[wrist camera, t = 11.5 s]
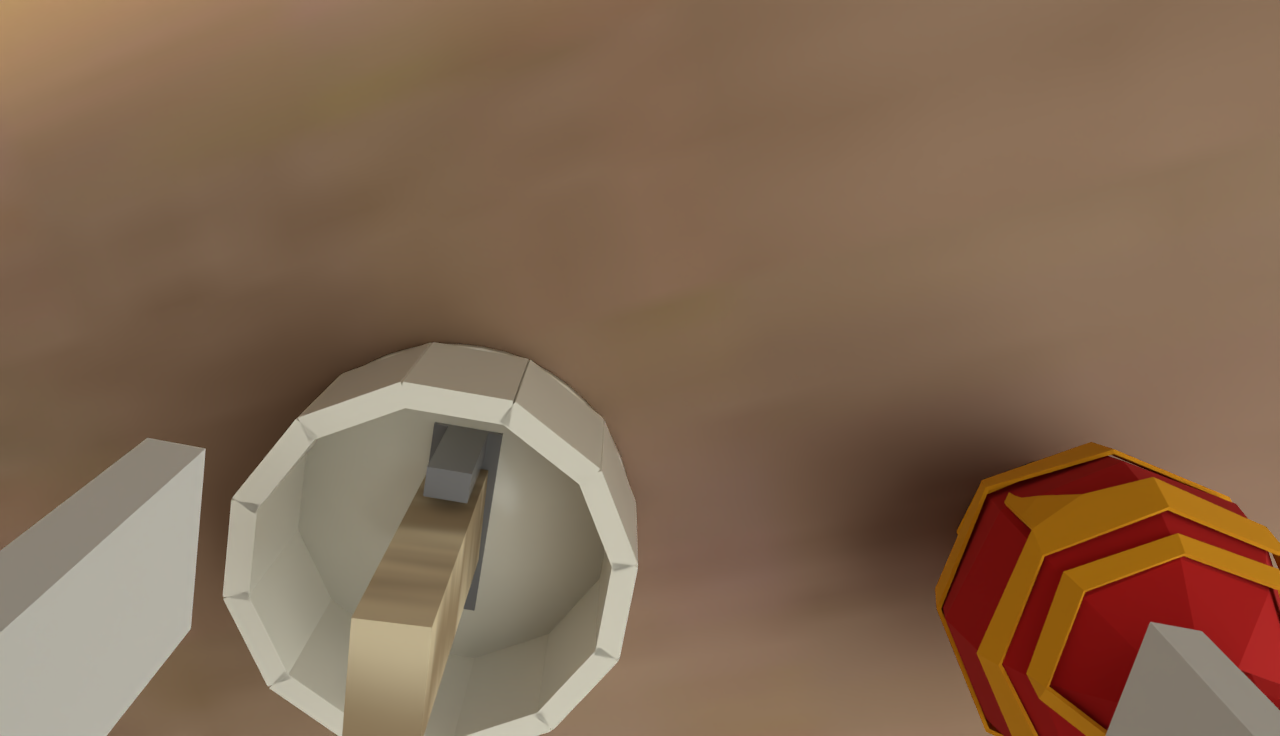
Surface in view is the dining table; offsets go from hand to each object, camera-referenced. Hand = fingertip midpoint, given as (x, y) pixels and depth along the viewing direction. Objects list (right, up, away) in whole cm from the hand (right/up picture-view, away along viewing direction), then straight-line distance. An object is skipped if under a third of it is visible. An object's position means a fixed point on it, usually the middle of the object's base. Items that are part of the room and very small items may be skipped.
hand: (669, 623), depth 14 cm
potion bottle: (+14, -2, +24) cm, 28 cm away
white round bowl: (-7, -2, +23) cm, 24 cm away
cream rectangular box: (-7, -2, +22) cm, 23 cm away
